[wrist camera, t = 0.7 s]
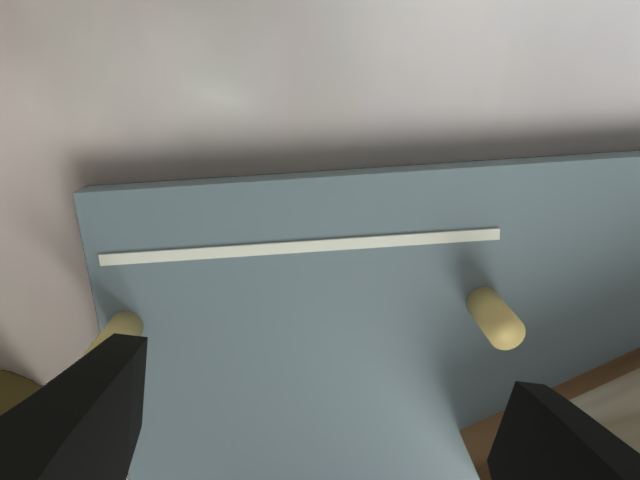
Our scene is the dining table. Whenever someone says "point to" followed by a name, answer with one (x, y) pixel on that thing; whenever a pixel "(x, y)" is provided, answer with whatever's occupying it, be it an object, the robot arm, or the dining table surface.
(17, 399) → the cork
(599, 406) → the brown box
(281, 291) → the shelf board
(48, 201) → the dining table surface
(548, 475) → the robot arm
